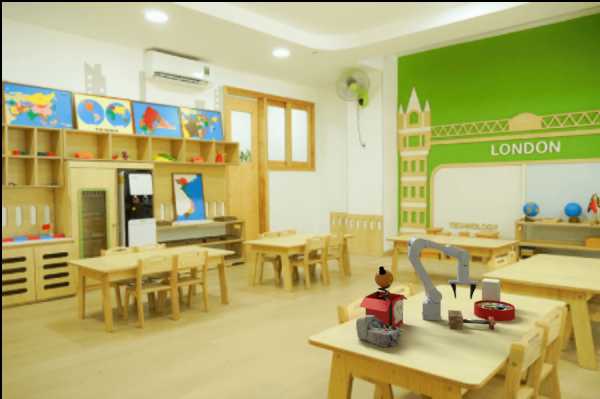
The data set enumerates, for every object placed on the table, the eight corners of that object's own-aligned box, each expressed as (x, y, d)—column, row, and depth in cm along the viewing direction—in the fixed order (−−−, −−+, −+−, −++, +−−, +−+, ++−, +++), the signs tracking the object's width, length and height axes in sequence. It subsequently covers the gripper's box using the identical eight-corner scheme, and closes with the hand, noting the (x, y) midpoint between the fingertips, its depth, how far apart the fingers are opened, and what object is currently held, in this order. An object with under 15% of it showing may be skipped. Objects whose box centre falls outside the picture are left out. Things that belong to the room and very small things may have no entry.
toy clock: (470, 299, 244) (508, 300, 240) (470, 309, 244) (508, 311, 240) (478, 309, 224) (520, 311, 220) (478, 320, 224) (519, 322, 221)
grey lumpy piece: (365, 310, 207) (405, 318, 195) (364, 332, 207) (404, 342, 196) (352, 317, 196) (393, 326, 185) (351, 340, 197) (393, 351, 185)
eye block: (449, 329, 211) (449, 315, 211) (448, 322, 221) (448, 310, 221) (463, 330, 210) (463, 316, 209) (460, 323, 219) (460, 310, 219)
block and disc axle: (462, 328, 212) (462, 316, 211) (461, 324, 217) (461, 313, 217) (496, 330, 208) (496, 318, 207) (494, 327, 213) (494, 315, 213)
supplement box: (500, 305, 251) (501, 279, 251) (498, 309, 244) (498, 282, 243) (484, 303, 256) (484, 277, 256) (481, 306, 249) (481, 280, 248)
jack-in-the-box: (388, 334, 204) (388, 271, 203) (359, 328, 213) (358, 267, 212) (409, 320, 225) (409, 263, 224) (382, 315, 234) (382, 260, 233)
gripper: (449, 273, 225) (449, 299, 226) (479, 274, 222) (479, 301, 222) (448, 270, 232) (448, 296, 233) (477, 272, 229) (477, 297, 229)
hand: (463, 298), depth 228 cm, fingers open, 7 cm apart
